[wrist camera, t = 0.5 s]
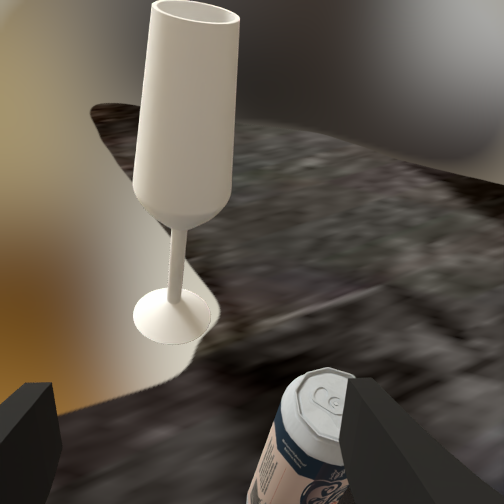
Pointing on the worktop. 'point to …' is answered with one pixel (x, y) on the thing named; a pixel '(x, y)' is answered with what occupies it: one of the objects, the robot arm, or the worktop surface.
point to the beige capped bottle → (304, 444)
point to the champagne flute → (184, 147)
